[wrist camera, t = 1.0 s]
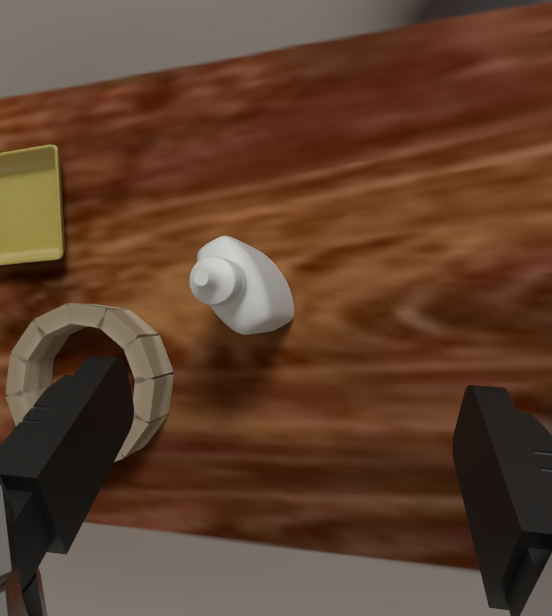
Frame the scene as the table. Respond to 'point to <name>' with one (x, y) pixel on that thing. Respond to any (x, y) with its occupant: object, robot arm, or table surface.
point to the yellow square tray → (31, 206)
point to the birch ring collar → (124, 331)
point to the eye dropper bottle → (241, 286)
